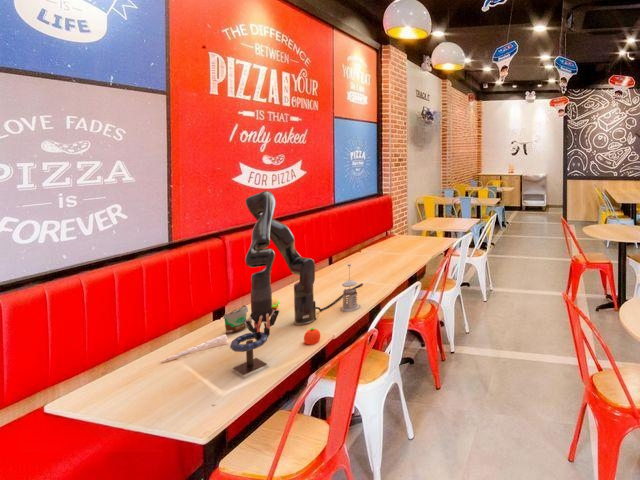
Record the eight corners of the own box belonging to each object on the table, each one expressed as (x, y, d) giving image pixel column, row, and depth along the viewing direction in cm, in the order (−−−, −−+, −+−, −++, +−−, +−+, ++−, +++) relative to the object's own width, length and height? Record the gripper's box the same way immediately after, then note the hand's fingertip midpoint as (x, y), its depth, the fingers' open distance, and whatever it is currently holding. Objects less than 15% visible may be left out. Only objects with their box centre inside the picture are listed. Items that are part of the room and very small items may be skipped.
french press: (362, 304, 221) (361, 261, 220) (353, 312, 209) (352, 267, 209) (345, 304, 222) (344, 261, 221) (336, 312, 210) (335, 267, 210)
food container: (234, 336, 184) (233, 315, 184) (223, 335, 185) (223, 314, 185) (254, 324, 196) (253, 305, 196) (244, 324, 197) (243, 304, 197)
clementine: (304, 341, 177) (303, 326, 177) (320, 338, 180) (320, 323, 180) (303, 349, 170) (303, 333, 170) (320, 346, 172) (320, 330, 172)
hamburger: (257, 318, 204) (257, 302, 203) (253, 312, 213) (252, 296, 212) (282, 312, 211) (282, 296, 211) (276, 306, 220) (276, 291, 220)
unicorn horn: (160, 359, 163) (160, 348, 163) (226, 342, 177) (226, 332, 177) (159, 364, 159) (159, 352, 159) (227, 346, 174) (227, 336, 174)
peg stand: (256, 361, 160) (255, 333, 160) (267, 367, 155) (266, 339, 155) (232, 371, 153) (232, 342, 153) (243, 378, 148) (242, 348, 148)
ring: (257, 334, 163) (257, 328, 163) (273, 342, 156) (273, 335, 156) (224, 347, 152) (224, 340, 152) (240, 356, 145) (239, 349, 145)
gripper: (273, 290, 166) (274, 330, 166) (238, 301, 155) (239, 343, 155) (282, 293, 162) (283, 334, 162) (247, 304, 150) (248, 348, 150)
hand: (262, 338), depth 158 cm, fingers closed on ring, 2 cm apart
